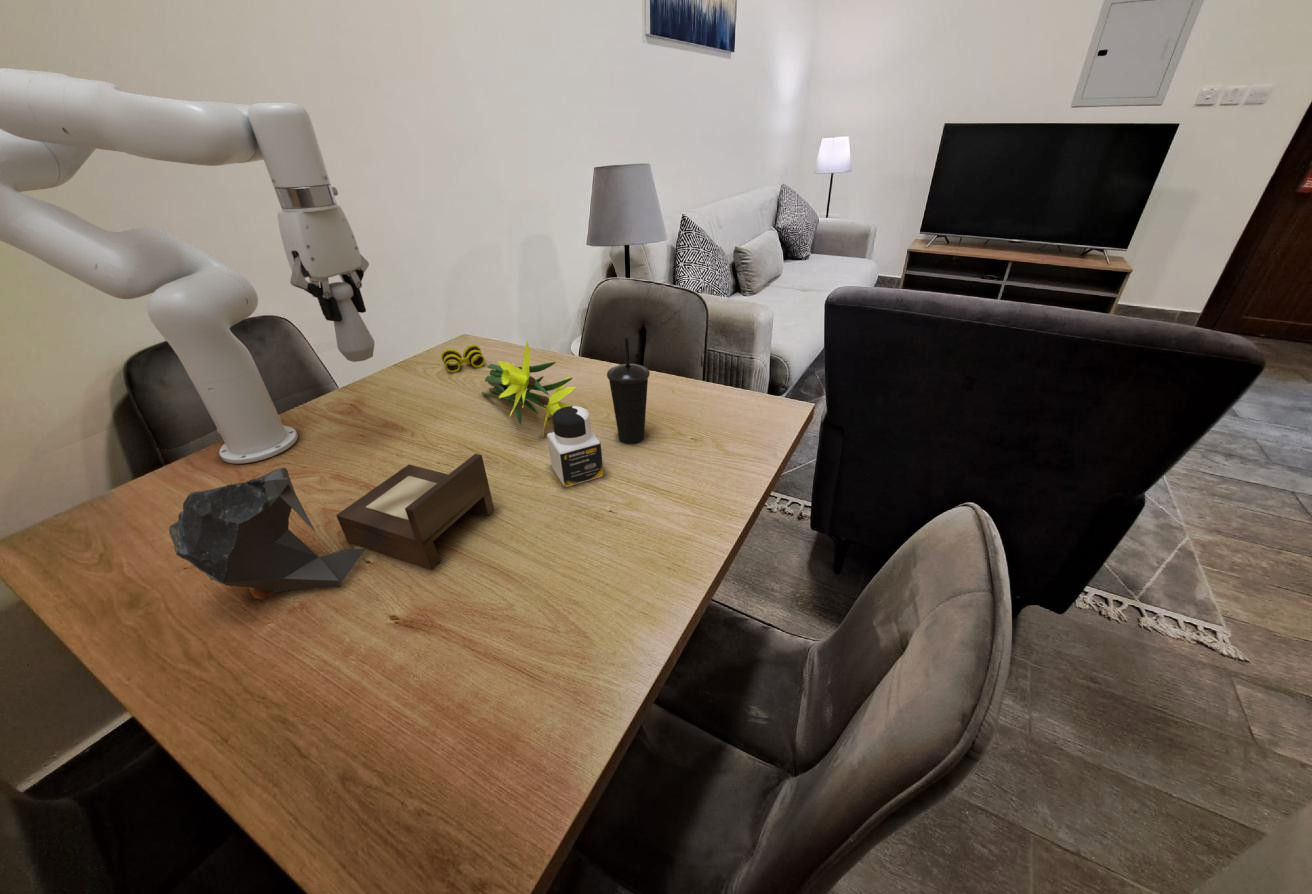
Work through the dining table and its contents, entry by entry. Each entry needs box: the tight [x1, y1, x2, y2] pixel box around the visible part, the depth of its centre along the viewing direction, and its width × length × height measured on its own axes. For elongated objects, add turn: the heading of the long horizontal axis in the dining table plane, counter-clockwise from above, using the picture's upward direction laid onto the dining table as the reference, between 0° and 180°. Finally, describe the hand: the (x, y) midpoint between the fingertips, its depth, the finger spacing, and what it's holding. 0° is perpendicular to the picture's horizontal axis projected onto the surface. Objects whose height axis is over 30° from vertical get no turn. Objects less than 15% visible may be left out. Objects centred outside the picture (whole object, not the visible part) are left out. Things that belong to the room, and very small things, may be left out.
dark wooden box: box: [335, 453, 496, 571], centre depth 78 cm, size 16×14×10 cm
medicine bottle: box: [546, 405, 604, 488], centre depth 89 cm, size 7×7×12 cm
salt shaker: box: [329, 281, 375, 363], centre depth 91 cm, size 6×6×13 cm
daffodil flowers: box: [480, 341, 577, 438], centre depth 106 cm, size 17×15×35 cm
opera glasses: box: [440, 344, 486, 373], centre depth 132 cm, size 10×5×5 cm, turn 118°
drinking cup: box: [606, 337, 651, 445], centre depth 96 cm, size 8×8×20 cm
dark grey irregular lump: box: [168, 467, 367, 600], centre depth 67 cm, size 14×15×18 cm
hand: (346, 314), depth 90 cm, fingers closed on salt shaker, 4 cm apart
